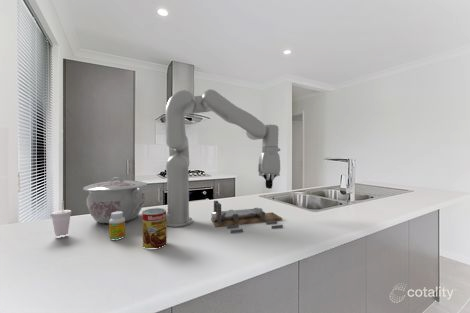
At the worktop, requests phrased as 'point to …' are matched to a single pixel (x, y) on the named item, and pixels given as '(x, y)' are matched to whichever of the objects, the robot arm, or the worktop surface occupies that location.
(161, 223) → the canned food
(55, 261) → the worktop surface
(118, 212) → the supplement bottle
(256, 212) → the tube
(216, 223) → the brown board
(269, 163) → the robot arm
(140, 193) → the chamber pot
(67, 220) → the smoothie
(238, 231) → the set of grey slats
